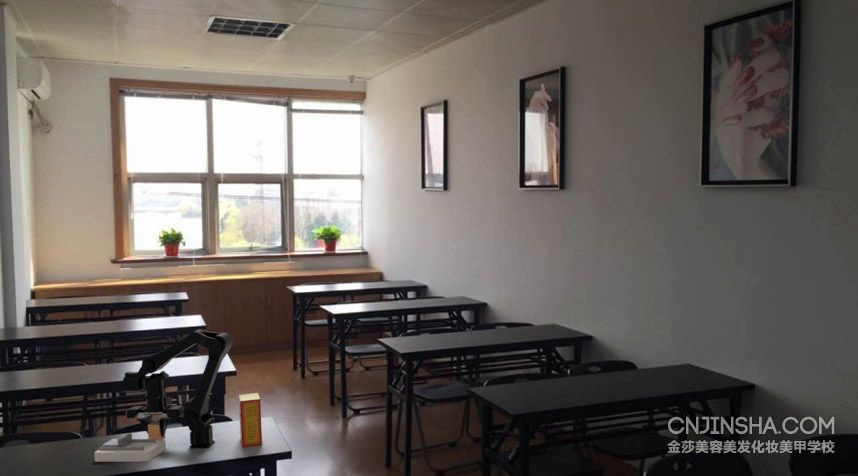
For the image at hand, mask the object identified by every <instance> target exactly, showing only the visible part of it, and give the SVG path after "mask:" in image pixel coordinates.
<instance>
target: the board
mask: <svg viewBox="0 0 858 476" xmlns="http://www.w3.org/2000/svg"><path fill="white" fill-rule="evenodd" d="M166 450H167V441H166V440H165V439H164V440H156V439H148V438H132V442H131V443H130V444H128V445H127V446H125V447H103V446H99V447H98V450H96V451H94V452H93V453H94V462H97V463H98V462H99V463H101V462H107V463H109V462H135V463H136V462H137V463H139V462H143V463H144V462H148V463H149V462H150V461H151V460H153V459H154V458H156V457H157V456H158V455H160V454H161V453H162V452H164V451H166Z"/></svg>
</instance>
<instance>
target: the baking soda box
mask: <svg viewBox="0 0 858 476" xmlns="http://www.w3.org/2000/svg"><path fill="white" fill-rule="evenodd" d="M261 408H262V407H261V398H260V395H259V392H251V393H243V394H238V409H239V411H238V412H239V413H238V414H239V434H240V435H239V436H240V445H241V447H242V449H244V448H249V447H250V448H251V447H252V448H253V447H258V446H263V435H262V433H263V432H262V413H261V411H262V410H261Z"/></svg>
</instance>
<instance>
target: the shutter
mask: <svg viewBox="0 0 858 476" xmlns="http://www.w3.org/2000/svg"><path fill="white" fill-rule="evenodd" d="M132 439H133V434H132V432H129V433H126V434H125V435H123V436H121V437H119V438H112V439H110V440H108V441H107V442H104V443H103V444H102V446H101V447H125V446H127V445H128V444H130V443H131V442H132Z"/></svg>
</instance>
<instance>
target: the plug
mask: <svg viewBox="0 0 858 476" xmlns="http://www.w3.org/2000/svg"><path fill="white" fill-rule="evenodd" d="M159 419H160V418H154V419H153V418H152V419H151V423H150V424H148V434H147V437H148V438H147V439H156V440H165V439H166V434H165V435H164V437H162V436H161V430H160V420H159Z"/></svg>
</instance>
